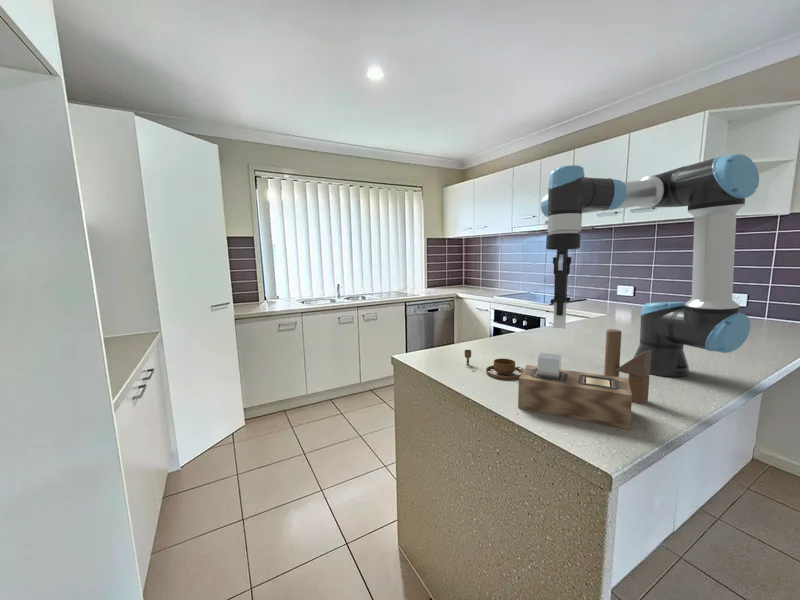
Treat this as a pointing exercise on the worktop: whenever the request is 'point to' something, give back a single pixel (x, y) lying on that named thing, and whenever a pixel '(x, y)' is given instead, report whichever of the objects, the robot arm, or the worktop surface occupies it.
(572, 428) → the worktop surface
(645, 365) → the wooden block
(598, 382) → the maple peg
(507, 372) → the place setting
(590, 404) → the walnut block
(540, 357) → the grey metal peg
